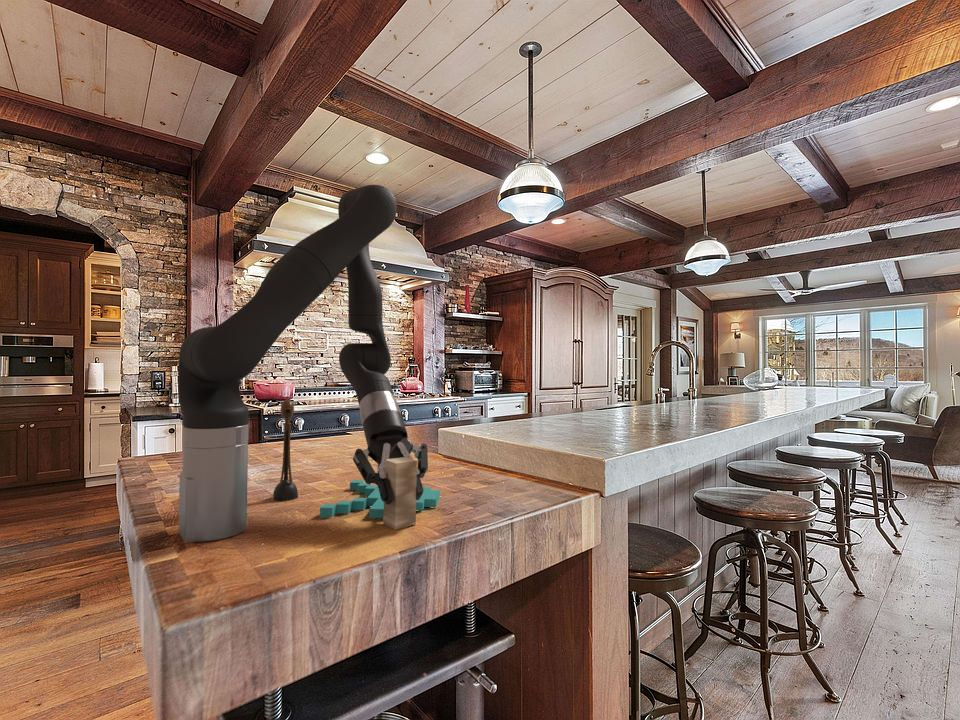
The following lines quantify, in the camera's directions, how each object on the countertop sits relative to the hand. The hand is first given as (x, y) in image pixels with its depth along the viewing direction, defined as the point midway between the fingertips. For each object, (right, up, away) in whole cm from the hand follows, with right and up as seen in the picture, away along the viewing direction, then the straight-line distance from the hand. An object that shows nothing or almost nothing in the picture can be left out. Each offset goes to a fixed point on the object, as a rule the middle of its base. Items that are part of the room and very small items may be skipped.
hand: (404, 499), depth 78 cm
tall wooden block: (-2, -5, +3) cm, 6 cm away
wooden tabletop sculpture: (-27, -5, +16) cm, 31 cm away
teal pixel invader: (-6, -6, +14) cm, 16 cm away
